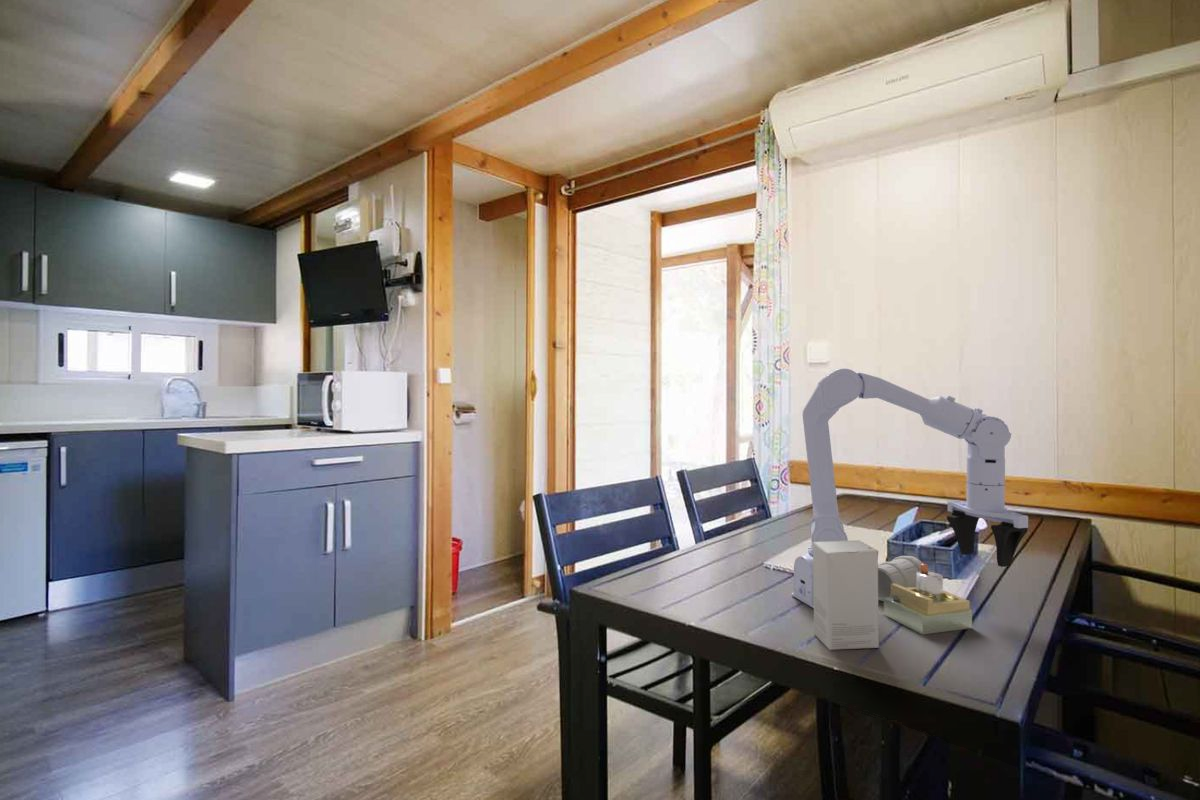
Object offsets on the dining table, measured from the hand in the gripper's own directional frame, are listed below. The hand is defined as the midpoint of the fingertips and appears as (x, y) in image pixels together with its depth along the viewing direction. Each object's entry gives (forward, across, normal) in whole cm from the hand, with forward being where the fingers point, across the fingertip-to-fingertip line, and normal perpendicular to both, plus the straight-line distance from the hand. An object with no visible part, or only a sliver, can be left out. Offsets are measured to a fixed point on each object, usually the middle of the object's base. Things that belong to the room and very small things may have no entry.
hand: (984, 559), depth 106 cm
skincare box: (+10, -3, +31) cm, 33 cm away
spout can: (+7, 0, +11) cm, 13 cm away
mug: (+7, +14, +4) cm, 16 cm away
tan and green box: (+10, 0, +12) cm, 16 cm away
